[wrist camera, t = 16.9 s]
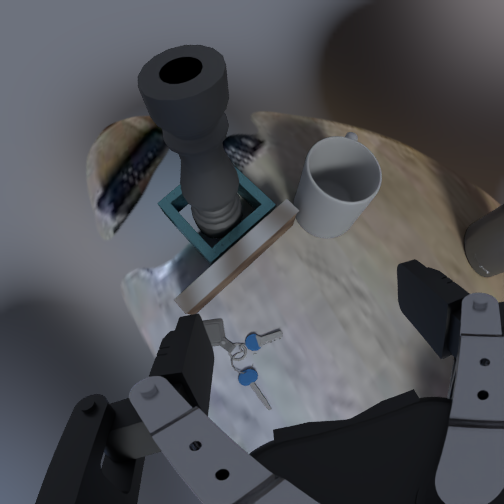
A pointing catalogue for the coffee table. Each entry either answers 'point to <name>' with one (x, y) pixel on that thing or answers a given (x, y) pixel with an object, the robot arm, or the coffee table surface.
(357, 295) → the coffee table surface
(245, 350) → the key chain
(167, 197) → the frame
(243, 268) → the door edge rail
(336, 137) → the mug
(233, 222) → the candle holder
